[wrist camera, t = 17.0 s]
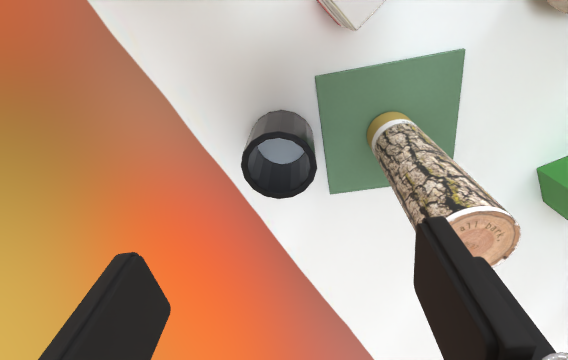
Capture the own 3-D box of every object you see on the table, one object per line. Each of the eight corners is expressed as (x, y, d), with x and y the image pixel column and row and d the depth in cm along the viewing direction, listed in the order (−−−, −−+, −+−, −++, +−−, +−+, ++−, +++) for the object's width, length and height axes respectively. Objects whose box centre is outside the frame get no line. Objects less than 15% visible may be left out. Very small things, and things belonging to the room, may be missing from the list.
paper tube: (380, 103, 42) (466, 197, 21) (420, 120, 43) (542, 227, 22) (357, 143, 46) (411, 261, 24) (395, 158, 47) (479, 284, 25)
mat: (314, 76, 41) (315, 76, 41) (463, 48, 39) (465, 48, 38) (329, 192, 51) (330, 194, 51) (449, 177, 49) (451, 178, 48)
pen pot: (243, 116, 45) (232, 138, 37) (308, 105, 44) (310, 125, 36) (258, 172, 50) (251, 202, 42) (316, 164, 48) (320, 193, 41)
